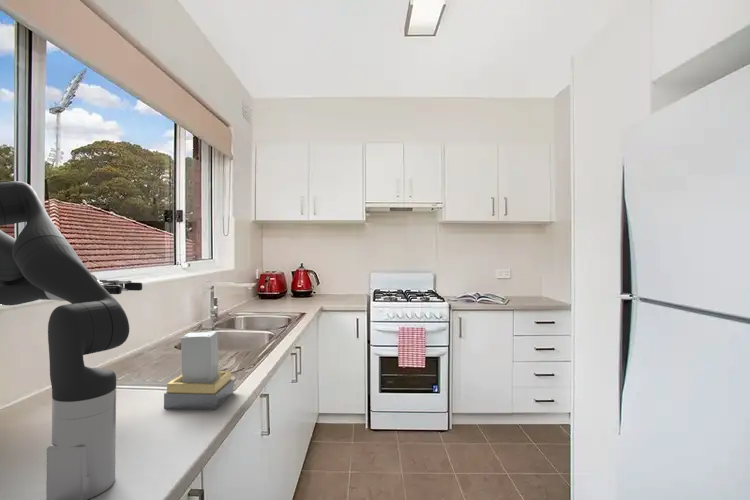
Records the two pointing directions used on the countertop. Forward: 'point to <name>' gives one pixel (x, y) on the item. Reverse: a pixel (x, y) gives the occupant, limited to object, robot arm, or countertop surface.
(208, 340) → the skincare box
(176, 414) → the countertop surface
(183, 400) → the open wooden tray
